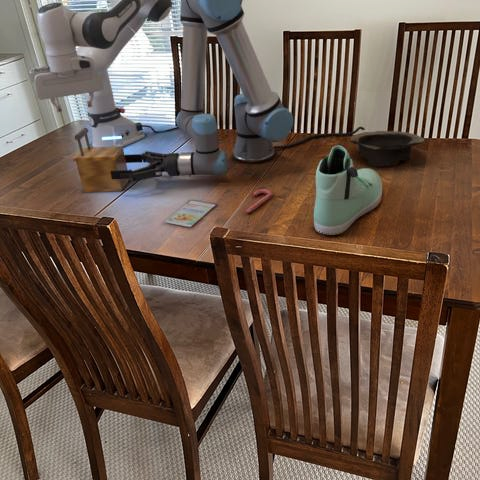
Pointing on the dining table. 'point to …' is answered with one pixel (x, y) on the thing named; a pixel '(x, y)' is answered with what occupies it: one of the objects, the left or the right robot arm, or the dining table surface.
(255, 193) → the candy cane
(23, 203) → the dining table surface
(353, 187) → the sneaker
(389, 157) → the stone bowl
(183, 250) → the dining table surface
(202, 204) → the baking ingredient package
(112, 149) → the lid
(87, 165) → the chest
